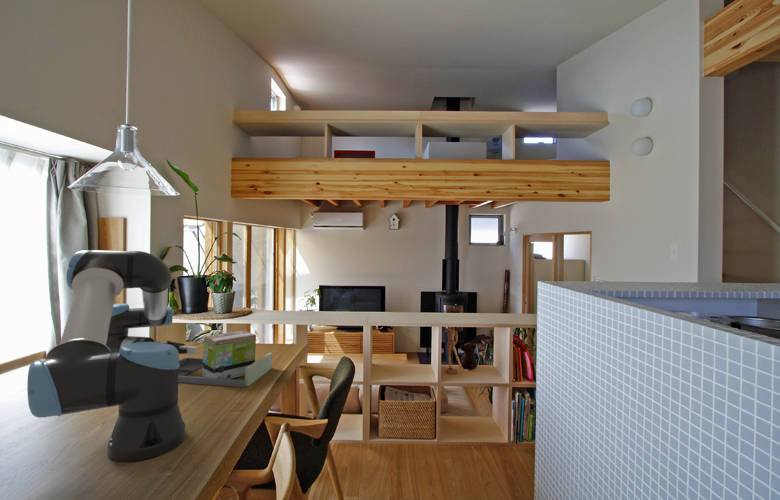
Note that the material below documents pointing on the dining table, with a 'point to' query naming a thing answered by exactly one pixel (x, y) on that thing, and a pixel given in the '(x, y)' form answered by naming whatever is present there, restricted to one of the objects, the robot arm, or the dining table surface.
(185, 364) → the channel
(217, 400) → the dining table surface
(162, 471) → the dining table surface
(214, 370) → the tea box
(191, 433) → the dining table surface
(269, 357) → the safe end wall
